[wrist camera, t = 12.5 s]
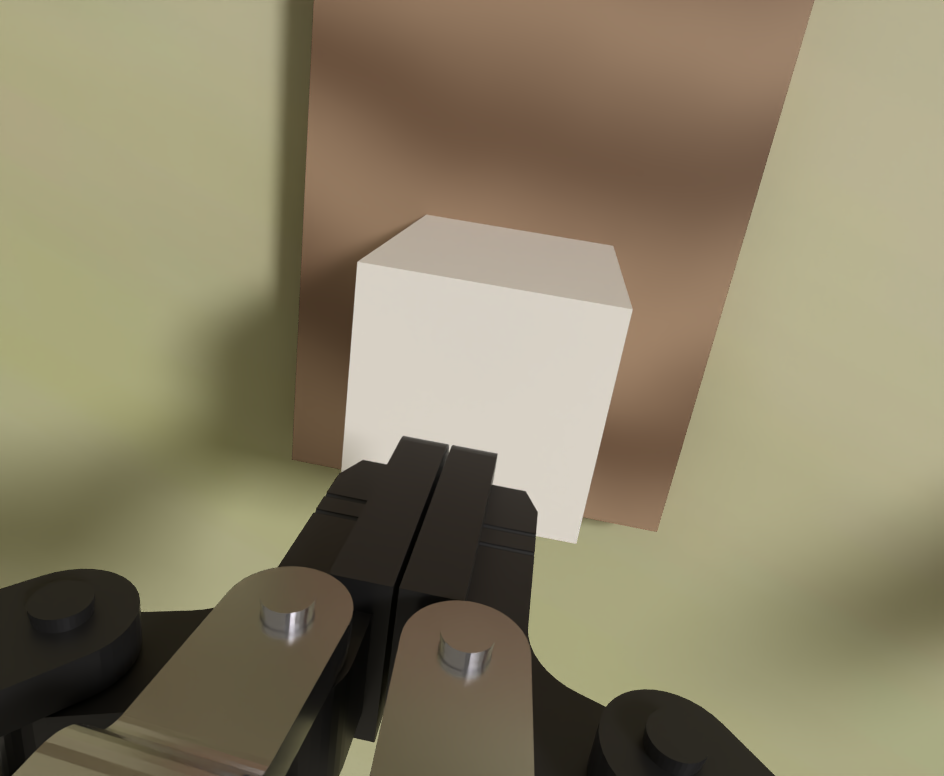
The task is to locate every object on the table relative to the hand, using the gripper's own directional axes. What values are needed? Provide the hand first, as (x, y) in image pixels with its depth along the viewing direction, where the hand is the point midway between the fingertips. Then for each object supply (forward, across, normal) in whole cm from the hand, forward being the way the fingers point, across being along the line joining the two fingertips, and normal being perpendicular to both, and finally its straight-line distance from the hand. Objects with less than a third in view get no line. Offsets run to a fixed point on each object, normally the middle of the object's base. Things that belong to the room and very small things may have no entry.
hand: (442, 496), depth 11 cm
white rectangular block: (+10, 0, 0) cm, 10 cm away
